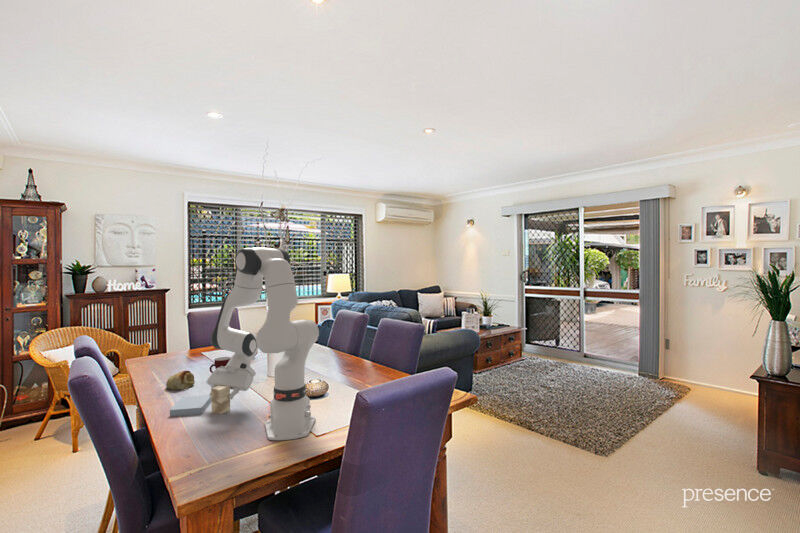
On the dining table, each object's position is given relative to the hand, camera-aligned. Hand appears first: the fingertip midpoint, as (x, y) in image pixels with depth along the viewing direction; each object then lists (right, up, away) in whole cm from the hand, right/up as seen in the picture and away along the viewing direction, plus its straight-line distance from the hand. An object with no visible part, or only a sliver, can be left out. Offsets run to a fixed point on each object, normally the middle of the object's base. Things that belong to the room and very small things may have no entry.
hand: (220, 397), depth 167 cm
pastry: (-35, -6, +34) cm, 49 cm away
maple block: (0, -6, 0) cm, 6 cm away
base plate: (-14, -6, +4) cm, 16 cm away
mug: (-21, -5, +48) cm, 53 cm away
